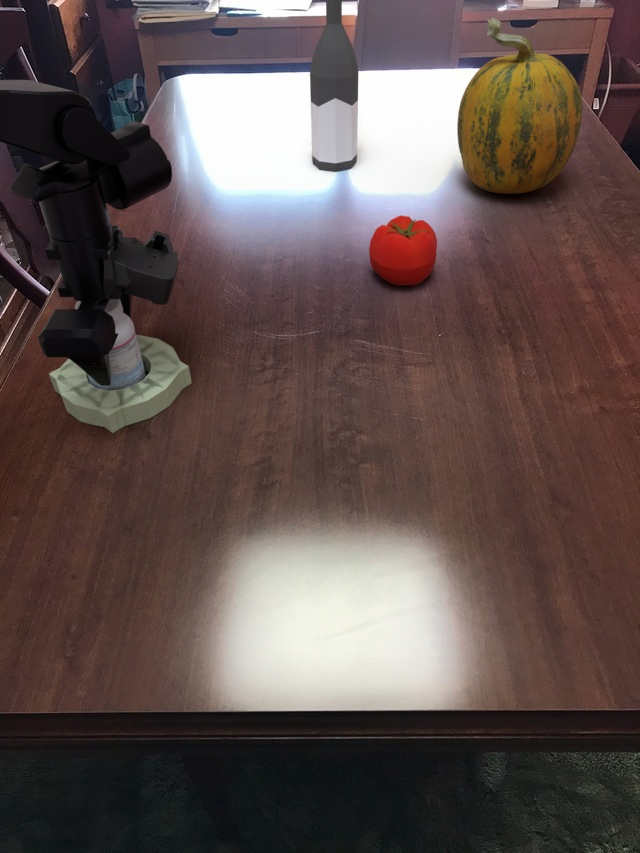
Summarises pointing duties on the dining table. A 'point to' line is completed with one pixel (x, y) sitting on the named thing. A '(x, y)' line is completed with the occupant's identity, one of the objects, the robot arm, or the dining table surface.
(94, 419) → the socket pad
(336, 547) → the dining table surface
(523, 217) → the dining table surface
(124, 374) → the pill bottle
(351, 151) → the wine bottle
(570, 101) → the pumpkin
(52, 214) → the robot arm
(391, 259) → the tomato
